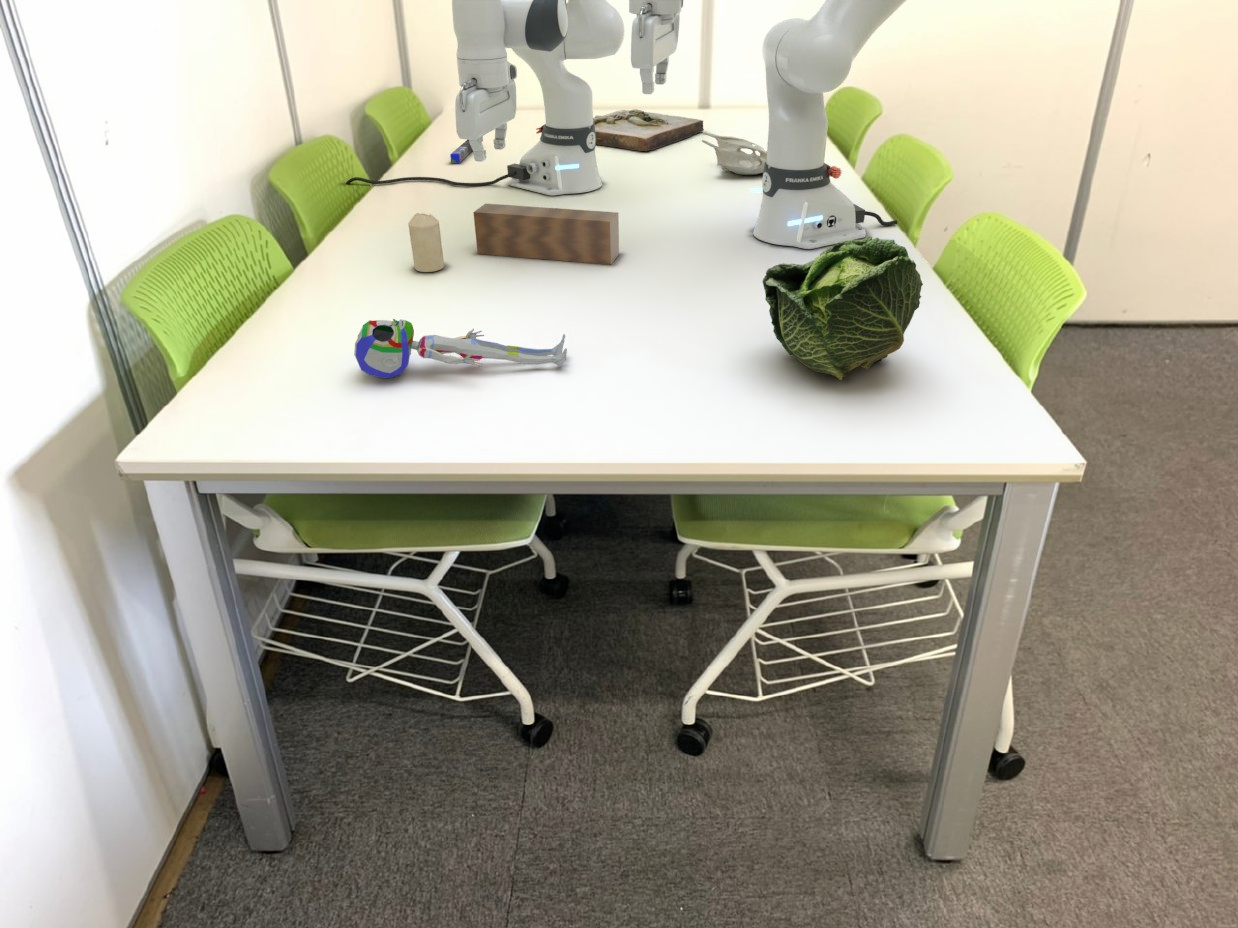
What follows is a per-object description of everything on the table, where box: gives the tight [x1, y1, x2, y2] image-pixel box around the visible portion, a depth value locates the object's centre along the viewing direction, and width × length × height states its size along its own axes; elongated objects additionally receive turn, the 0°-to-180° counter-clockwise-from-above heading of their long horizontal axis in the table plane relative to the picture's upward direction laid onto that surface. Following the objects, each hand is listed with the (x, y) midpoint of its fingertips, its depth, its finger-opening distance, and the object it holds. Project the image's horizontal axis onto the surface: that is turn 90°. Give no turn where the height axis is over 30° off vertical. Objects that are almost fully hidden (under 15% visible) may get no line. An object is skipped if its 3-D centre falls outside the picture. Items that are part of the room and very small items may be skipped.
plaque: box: [593, 108, 705, 152], centre depth 257 cm, size 30×7×30 cm
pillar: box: [449, 139, 474, 164], centre depth 242 cm, size 2×2×20 cm
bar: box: [472, 203, 620, 266], centre depth 172 cm, size 27×6×8 cm, turn 75°
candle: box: [407, 212, 445, 273], centre depth 166 cm, size 6×6×10 cm
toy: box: [353, 318, 568, 379], centre depth 130 cm, size 10×8×30 cm
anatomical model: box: [701, 131, 767, 176], centre depth 221 cm, size 15×9×25 cm
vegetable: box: [762, 236, 924, 381], centre depth 127 cm, size 20×19×20 cm
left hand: (490, 154), depth 166 cm, fingers open, 8 cm apart
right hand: (654, 88), depth 158 cm, fingers open, 8 cm apart
